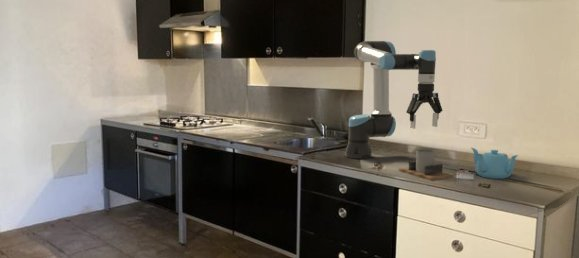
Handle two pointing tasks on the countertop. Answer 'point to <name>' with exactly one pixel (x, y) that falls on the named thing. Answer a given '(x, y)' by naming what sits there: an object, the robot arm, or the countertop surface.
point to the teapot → (493, 164)
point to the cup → (424, 159)
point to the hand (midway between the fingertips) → (423, 127)
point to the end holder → (427, 171)
